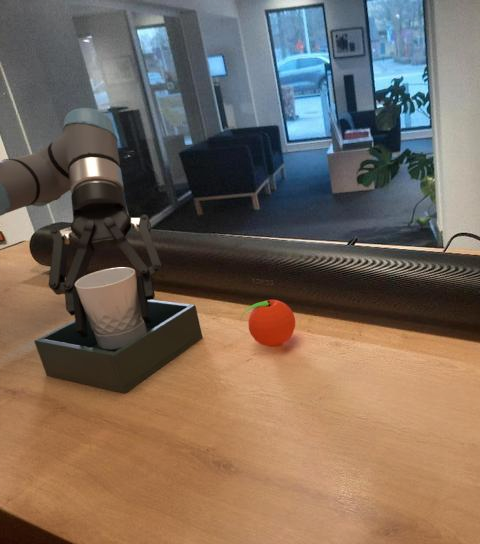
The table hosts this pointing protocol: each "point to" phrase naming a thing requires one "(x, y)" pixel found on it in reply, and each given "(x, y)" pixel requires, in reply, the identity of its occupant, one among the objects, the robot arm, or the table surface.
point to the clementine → (271, 322)
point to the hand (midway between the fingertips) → (115, 326)
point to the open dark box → (120, 349)
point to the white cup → (112, 306)
